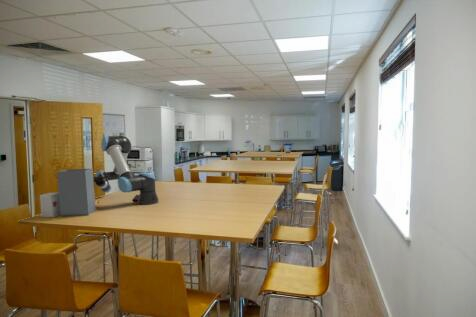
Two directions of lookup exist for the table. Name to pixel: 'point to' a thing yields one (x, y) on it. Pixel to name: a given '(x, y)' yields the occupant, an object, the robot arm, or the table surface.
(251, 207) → the table surface
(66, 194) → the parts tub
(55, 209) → the supplement box
